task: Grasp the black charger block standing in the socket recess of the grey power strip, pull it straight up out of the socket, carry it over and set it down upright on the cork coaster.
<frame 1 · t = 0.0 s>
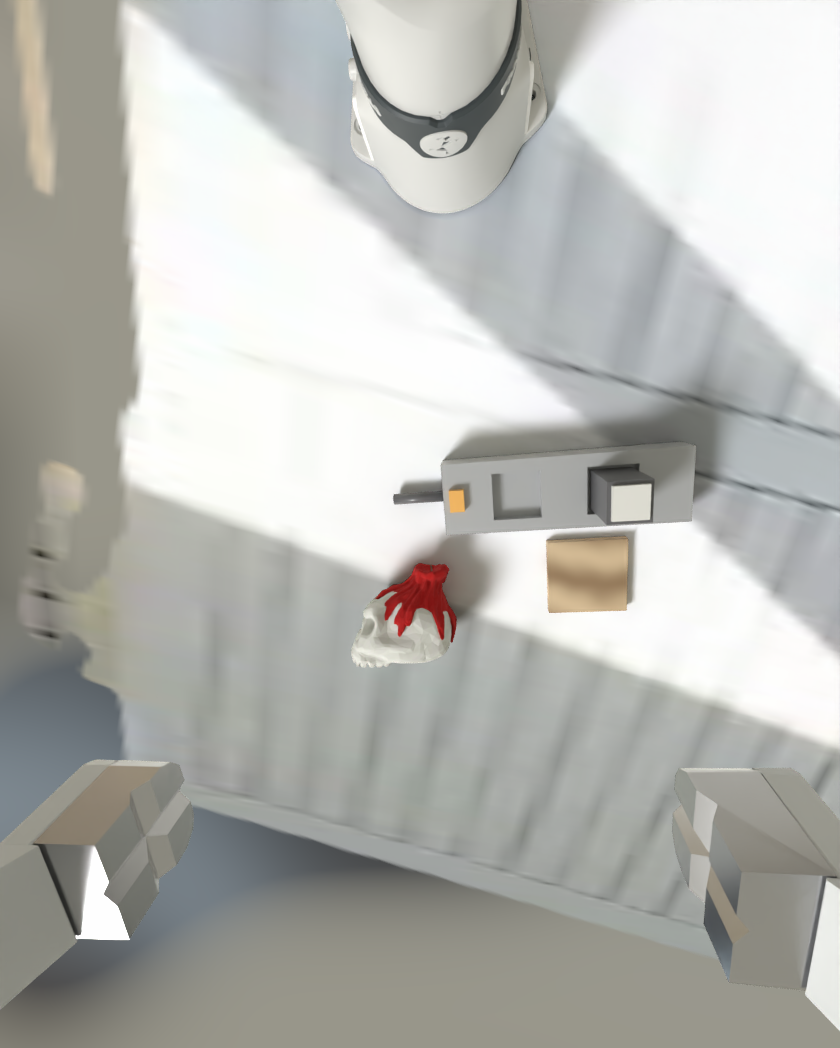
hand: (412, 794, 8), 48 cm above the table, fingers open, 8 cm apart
white red lumpy piece: (415, 602, 60), on the table
cork coaster: (585, 573, 56), on the table
power strip: (558, 485, 53), on the table
charger: (609, 487, 50), point 2 cm above the table, touching power strip
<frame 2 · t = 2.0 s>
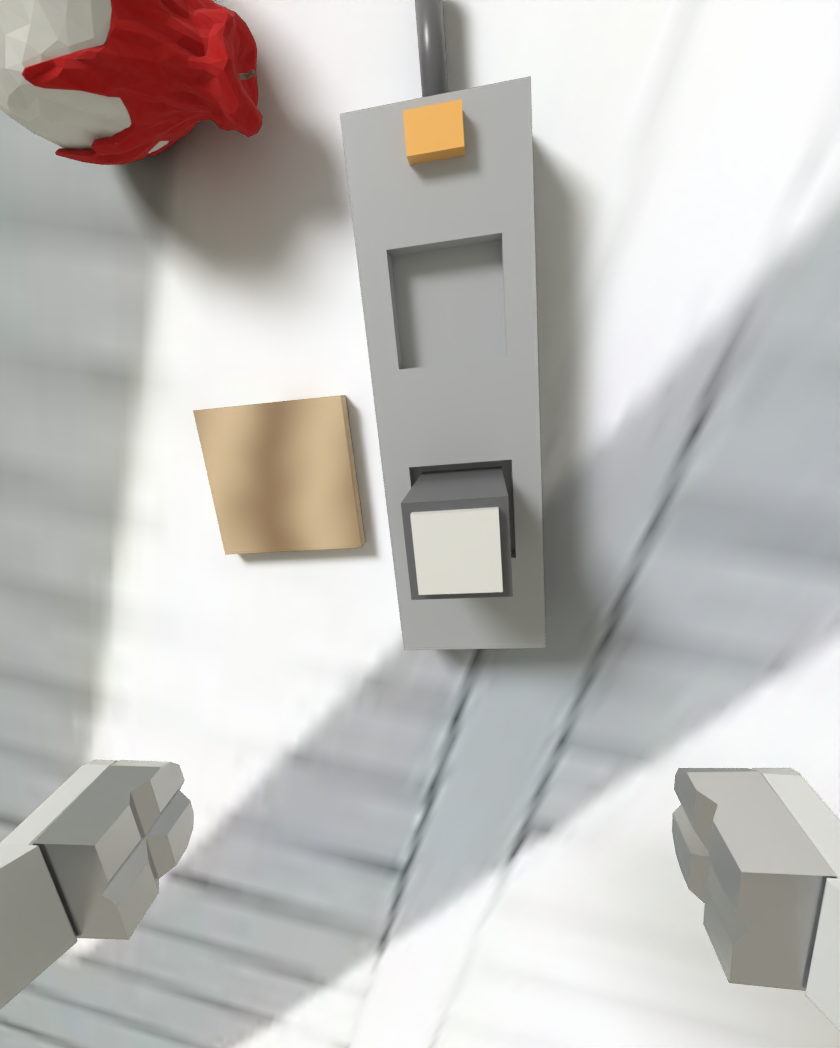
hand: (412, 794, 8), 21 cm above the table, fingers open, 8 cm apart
white red lumpy piece: (160, 77, 24), on the table
cork coaster: (285, 477, 29), on the table
power strip: (459, 411, 26), on the table
charger: (464, 507, 25), point 2 cm above the table, touching power strip
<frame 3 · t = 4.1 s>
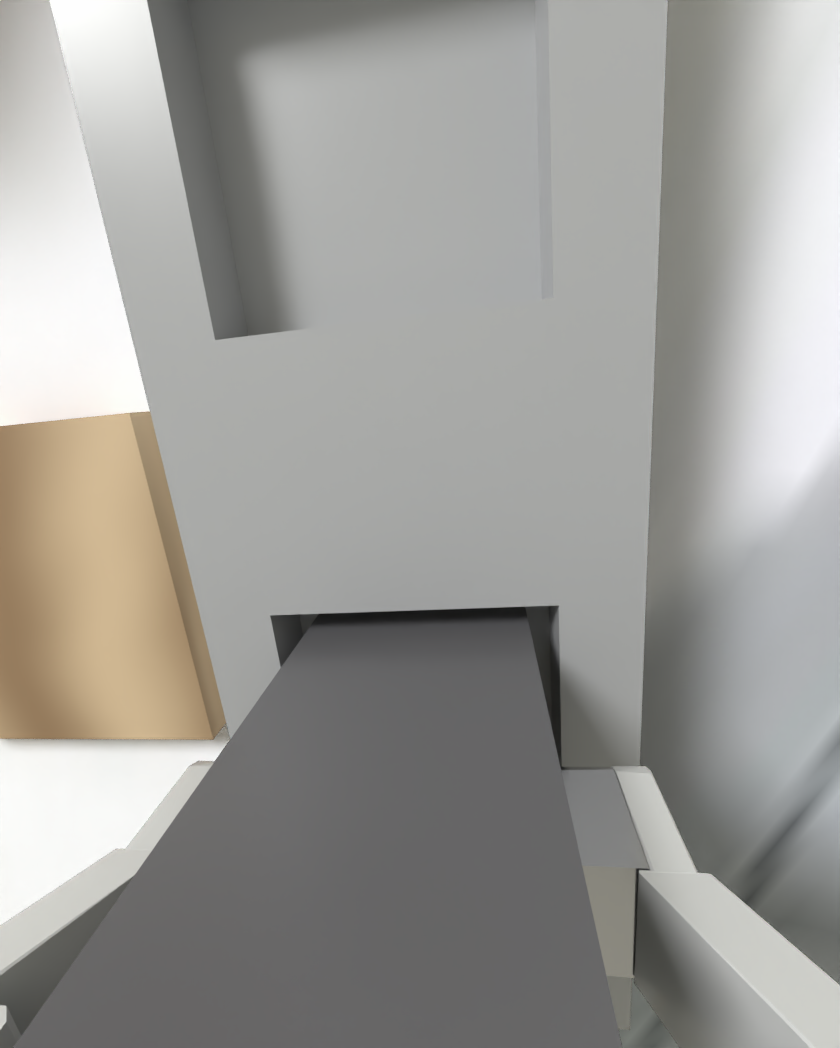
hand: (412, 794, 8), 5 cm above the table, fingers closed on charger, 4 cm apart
cork coaster: (54, 584, 13), on the table
power strip: (419, 449, 11), on the table
charger: (429, 694, 10), point 2 cm above the table, touching gripper, power strip
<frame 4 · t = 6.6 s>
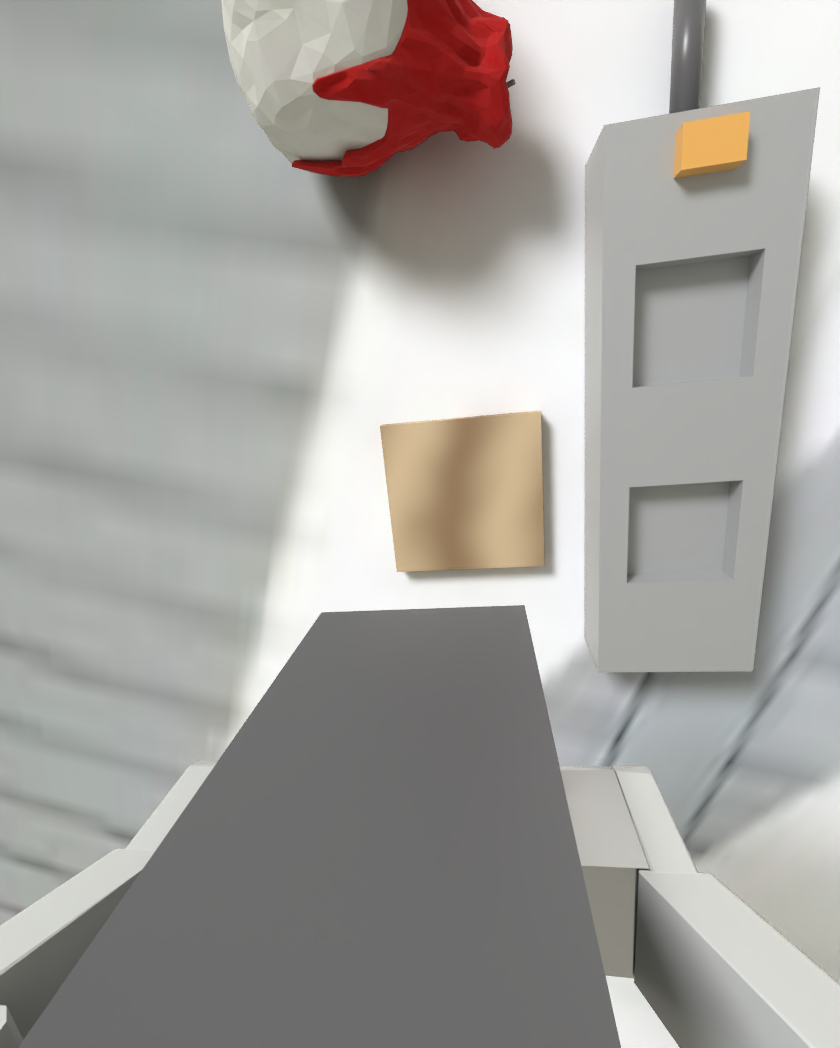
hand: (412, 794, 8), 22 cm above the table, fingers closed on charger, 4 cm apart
white red lumpy piece: (375, 85, 23), on the table
cork coaster: (464, 493, 28), on the table
power strip: (660, 427, 26), on the table
charger: (429, 697, 10), point 19 cm above the table, touching gripper
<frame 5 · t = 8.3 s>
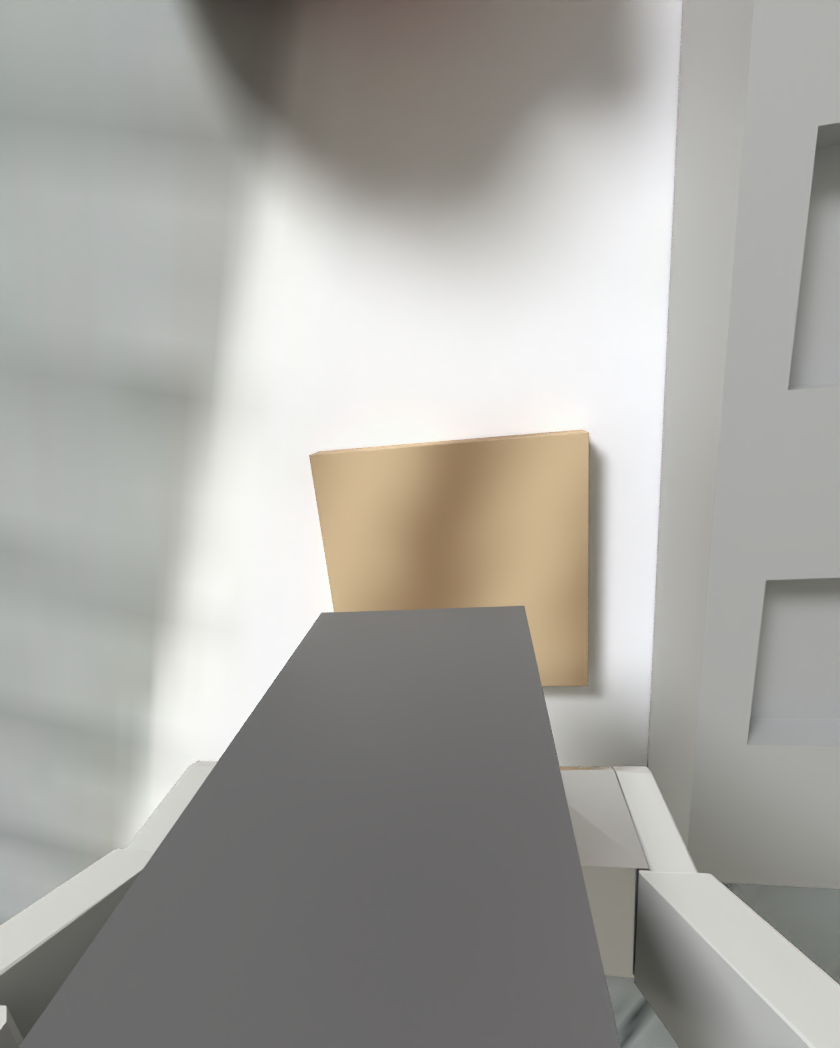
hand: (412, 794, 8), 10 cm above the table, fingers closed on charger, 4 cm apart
cork coaster: (454, 564, 17), on the table
power strip: (795, 460, 15), on the table
charger: (429, 697, 10), point 7 cm above the table, touching gripper
when the fingers open (5 cm above the table, at t = 9.5 s): charger drops 1 cm, resting on cork coaster.
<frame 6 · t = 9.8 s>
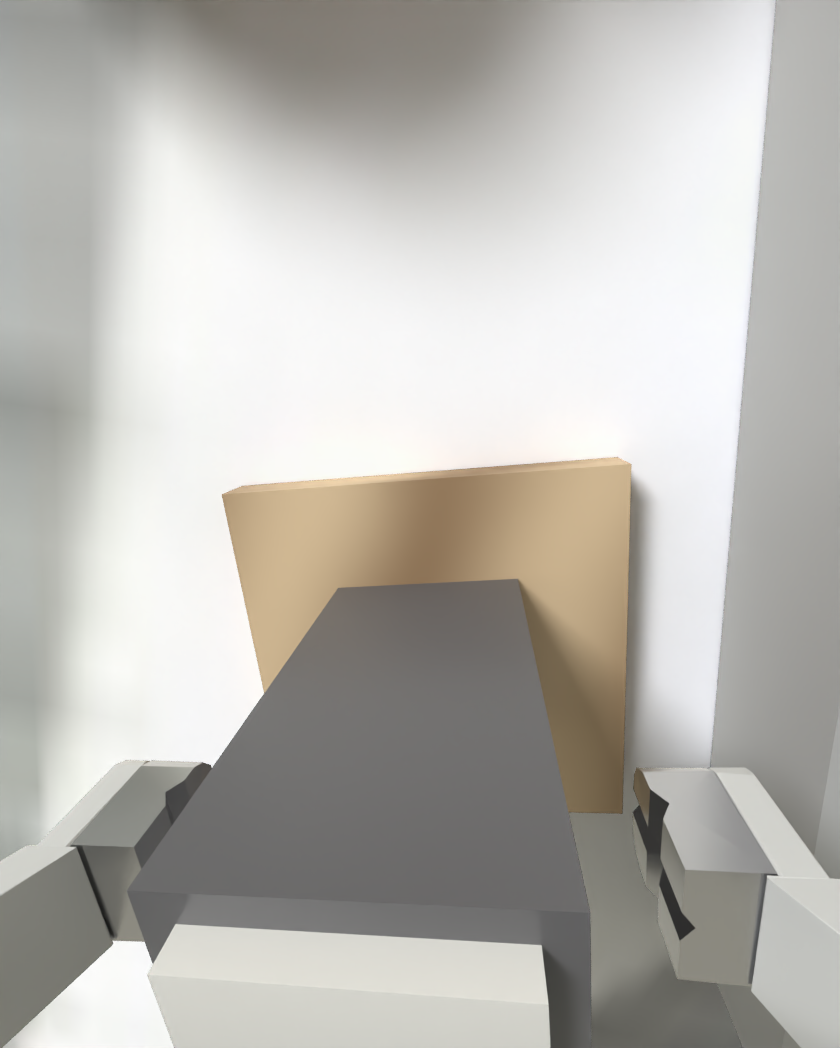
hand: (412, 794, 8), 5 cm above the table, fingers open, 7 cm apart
cork coaster: (435, 640, 12), on the table
charger: (434, 663, 11), point 1 cm above the table, touching cork coaster
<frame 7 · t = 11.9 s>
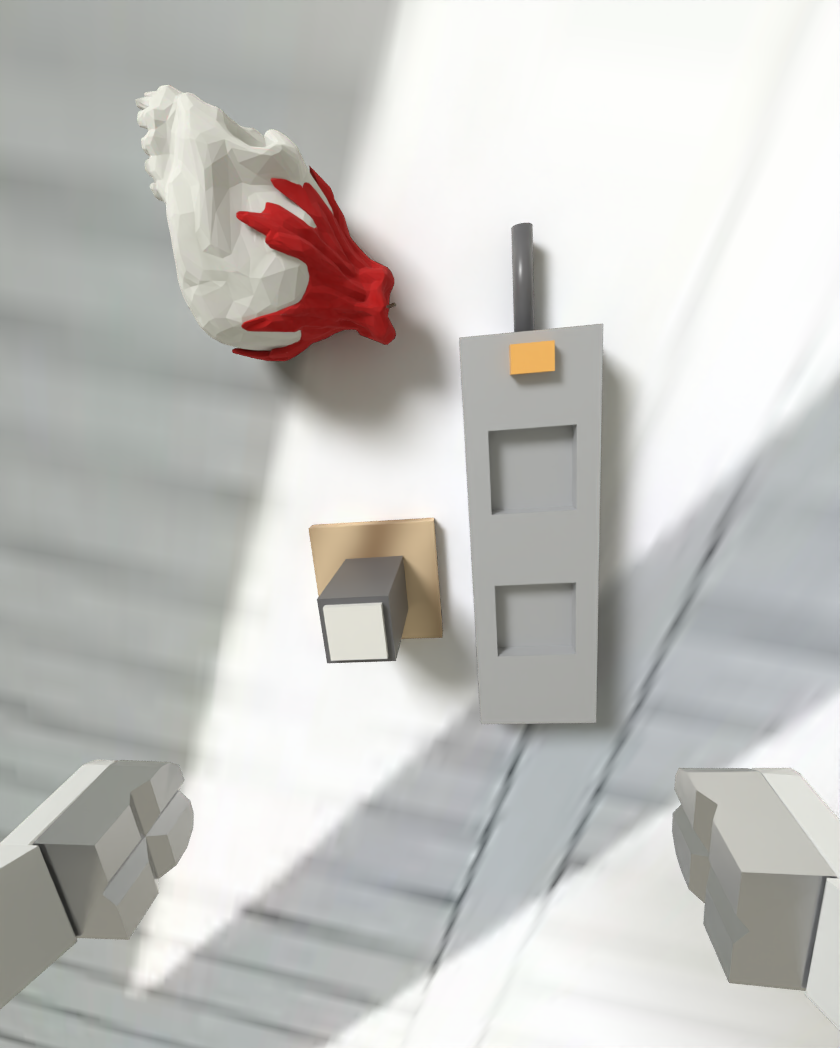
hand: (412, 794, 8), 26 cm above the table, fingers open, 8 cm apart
white red lumpy piece: (301, 278, 30), on the table
cork coaster: (379, 578, 35), on the table
power strip: (526, 532, 33), on the table
charger: (377, 584, 34), point 1 cm above the table, touching cork coaster
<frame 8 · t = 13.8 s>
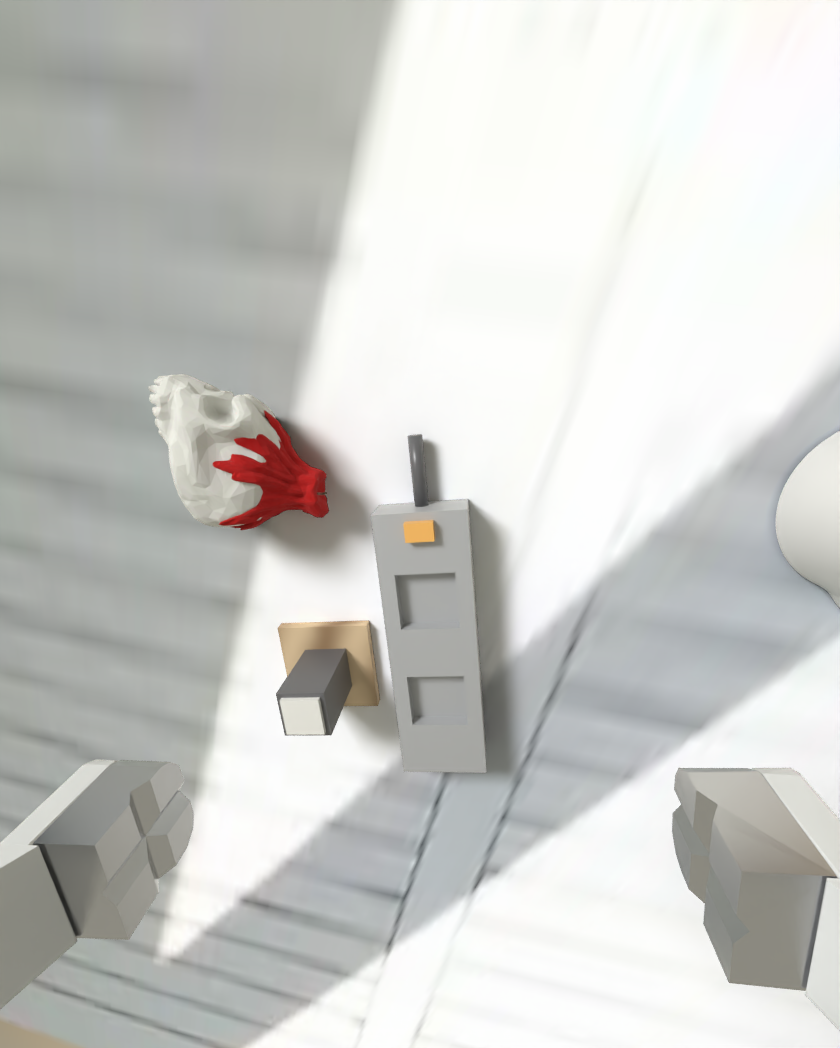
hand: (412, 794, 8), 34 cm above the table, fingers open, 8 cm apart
white red lumpy piece: (266, 458, 42), on the table
cork coaster: (331, 661, 47), on the table
power strip: (436, 632, 45), on the table
charger: (328, 667, 46), point 1 cm above the table, touching cork coaster
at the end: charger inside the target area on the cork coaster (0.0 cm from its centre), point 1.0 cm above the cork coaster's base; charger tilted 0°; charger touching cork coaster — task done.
